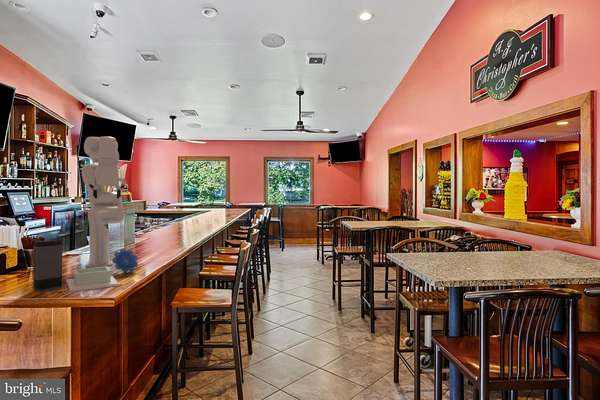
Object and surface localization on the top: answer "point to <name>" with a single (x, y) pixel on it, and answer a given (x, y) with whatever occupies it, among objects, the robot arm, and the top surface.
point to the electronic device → (47, 265)
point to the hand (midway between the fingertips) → (107, 198)
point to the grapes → (125, 260)
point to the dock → (91, 279)
